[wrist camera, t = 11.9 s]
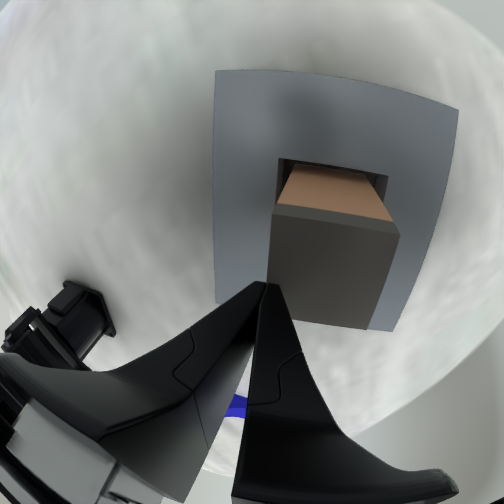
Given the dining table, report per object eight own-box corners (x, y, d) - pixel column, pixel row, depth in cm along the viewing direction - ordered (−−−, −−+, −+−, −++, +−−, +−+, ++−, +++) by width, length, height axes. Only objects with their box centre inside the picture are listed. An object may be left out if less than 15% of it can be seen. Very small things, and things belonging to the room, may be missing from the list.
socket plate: (387, 307, 18) (392, 332, 16) (227, 281, 20) (215, 303, 18) (439, 108, 11) (458, 110, 9) (231, 75, 13) (215, 70, 11)
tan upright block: (352, 236, 16) (366, 330, 9) (289, 227, 17) (263, 314, 10) (364, 174, 14) (400, 234, 7) (295, 163, 15) (271, 213, 8)
